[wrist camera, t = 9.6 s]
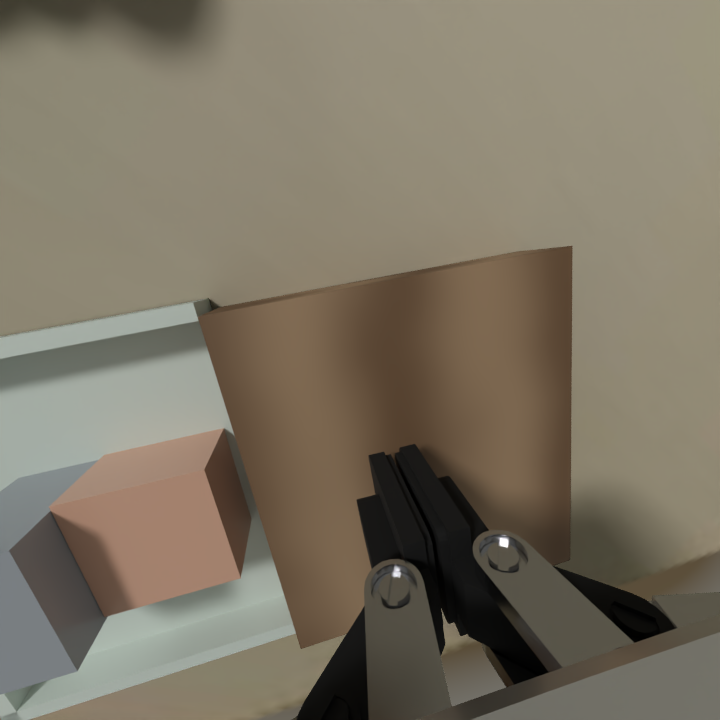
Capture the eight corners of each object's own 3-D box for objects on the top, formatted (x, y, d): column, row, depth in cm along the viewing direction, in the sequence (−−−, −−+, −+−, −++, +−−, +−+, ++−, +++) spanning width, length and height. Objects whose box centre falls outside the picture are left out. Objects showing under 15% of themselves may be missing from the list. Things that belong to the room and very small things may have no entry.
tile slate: (8, 550, 9) (-128, 584, 8) (77, 671, 10) (-39, 705, 9) (104, 458, 13) (18, 477, 12) (144, 550, 14) (67, 570, 14)
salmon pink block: (223, 428, 13) (204, 469, 11) (251, 518, 15) (240, 578, 12) (104, 454, 13) (48, 506, 10) (143, 547, 14) (104, 617, 11)
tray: (208, 298, 13) (192, 302, 11) (295, 592, 17) (295, 633, 15) (-150, 363, 11) (-244, 382, 9) (43, 669, 15) (6, 726, 13)
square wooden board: (517, 251, 14) (572, 245, 12) (527, 515, 18) (570, 559, 15) (219, 307, 13) (197, 316, 10) (300, 584, 17) (300, 648, 14)
